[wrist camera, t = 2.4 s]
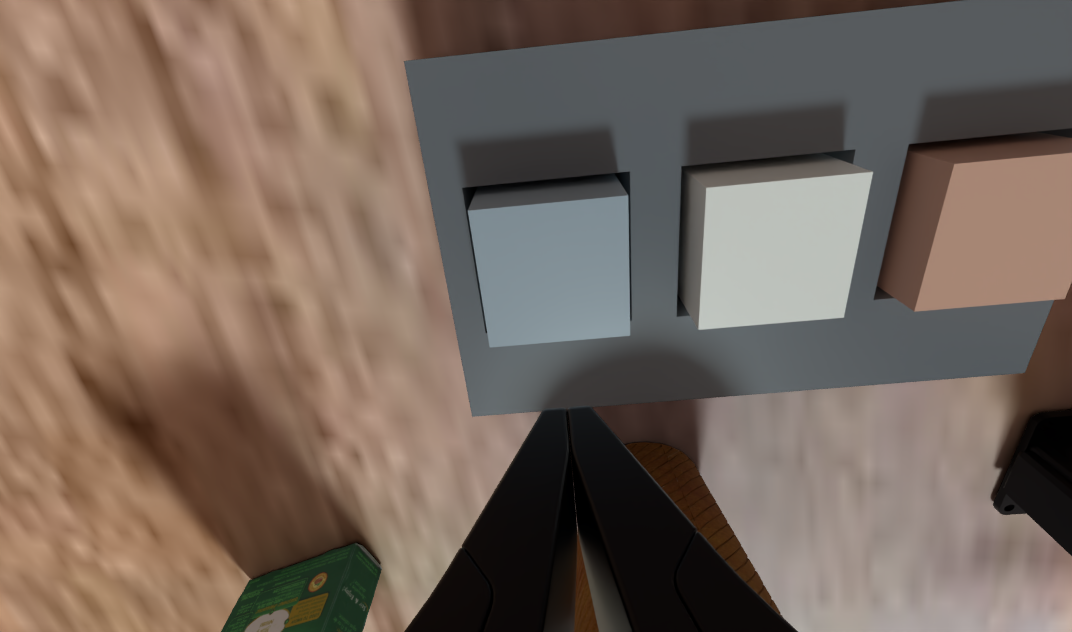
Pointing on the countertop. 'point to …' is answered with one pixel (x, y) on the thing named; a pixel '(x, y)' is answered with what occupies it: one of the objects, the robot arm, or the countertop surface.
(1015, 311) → the key panel
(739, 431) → the countertop surface
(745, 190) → the pale key
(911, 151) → the rust key
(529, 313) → the slate key
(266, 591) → the coffee box
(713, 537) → the disposable coffee cup
